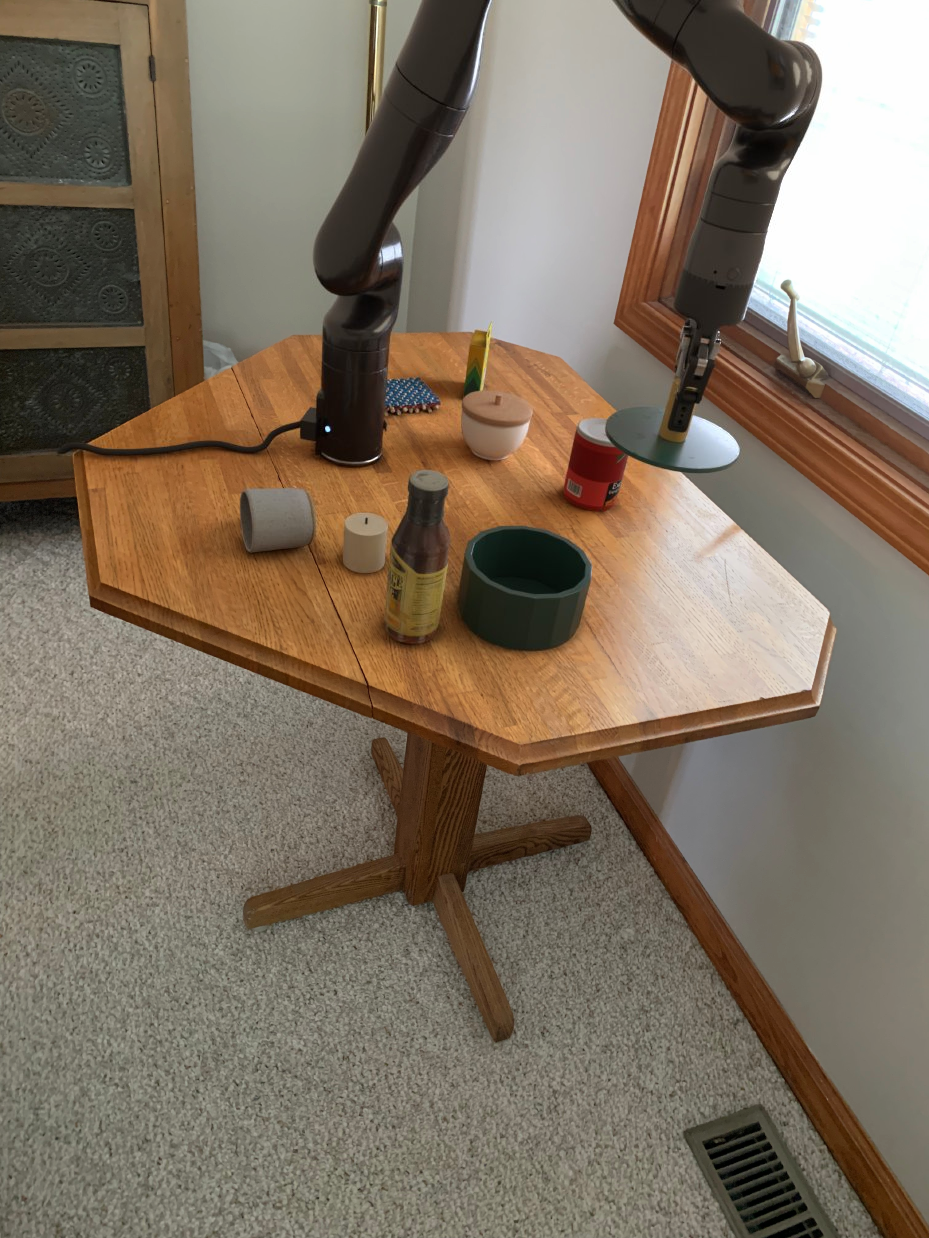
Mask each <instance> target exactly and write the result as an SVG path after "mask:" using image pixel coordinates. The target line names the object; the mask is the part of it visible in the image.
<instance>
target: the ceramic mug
mask: <svg viewBox="0 0 929 1238" xmlns="http://www.w3.org/2000/svg"><path fill="white" fill-rule="evenodd" d="M239 516H240V517H239V518H240V519H239V520H240V527H241V529H240V530H241V536H242V539H243V542H244V546H245V549H246V551H247V552H248V553H260V552H267V551H269V552H270V551H275V550H283V549H293V548H301V547H304V546H307V545H311V543H312V542H313V541H314V540H315V537H316V533H317V513H316V507H315V502H314V499H313V497H312V495H311V494H310V492H309V491H307V490H306V489H302V488H297V487H284V488H283V487H282V488H244V489H243V490H242V491H241V493H240V498H239Z"/></svg>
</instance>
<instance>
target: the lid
mask: <svg viewBox="0 0 929 1238" xmlns="http://www.w3.org/2000/svg"><path fill="white" fill-rule="evenodd" d="M678 382H679V378H678V377H677V378H675V379H674V380H673V379H672V384H671V388H670V391H669V395H668V398H667V401H666V404H665V405H666V406H665V408H664V407H657V406H656V407H655V406H635V407H628V408H624V409H620V410H617V411H615V412H613V413H612V414H611V415H610V416H608V418H606V419H607V421H606V425H605V433H606V436H607V437H608V439H609V441H610V442H611V443H612V444H613V445H614V446H615V447H616V448H618V449H619V450H620V451H622V452H623V453H625V454H627V455H628V457H630V458H632V459H634V460H636V461H639V462H641V463H644V464H647V465H649V466H652V467H655V468H659V469H661V470H666V471H671V472H677V473H683V474H684V473H686V474H712V473H718V472H721V471H724V470H727V469H729V468H732V466H734V465H735V464H736V463H737V461H738V458H739V456H740V446H739V444H738V442H737V441H736V439H735V438H734V437H733V436H732V435H731V433H729V432H728V431H727V430H725V429H724V428H722V427H720V426H719V425H717V424H715V423H714V422H711V421H709V420H707V419H705V418H702V417H700V416H698V415H695V410H696V408H697V404H696V403H695V405H694V408H693V412H692V415H691V418H690V422H689V425H688V428H687V431H686V432H684V433H681V432H675V431H670V430H669V429H668V421H669V417H670V413H671V410H672V406H673V403H674V399H675V396H674V394H675V391H676V390H677V386H678ZM686 389H687V390H692V391H695V388H693V387H687V388H686Z"/></svg>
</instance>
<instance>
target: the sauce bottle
mask: <svg viewBox="0 0 929 1238" xmlns="http://www.w3.org/2000/svg"><path fill="white" fill-rule="evenodd" d="M449 487H450V481H449V478H448V477H447V476H446V475H445V474H444V473H441V472H439V471H436V470H434V469H433V470H432V469H420V470H417V471H414V472H412V473H411V474H410V475H409V477H408V482H407V493H408V496H407V507H406V508H405V513H404V515H403V516H402V518H401V520H400V522H399V524H398V525H397V528H396V530H395V532H394V534H393V536H392V537H391V543H390V550H389V562H388V569H387V570H388V571H387V580H386V581H387V582H386V591H385V592H386V593H385V602H384V603H385V604H384V613H383V616H384V628H385V631H386V632H387V633H388V635H389V636H390V637H391V639H393V640H394V641H397V642H400V643H403V644H408V645H420V644H423V643H426V642H430V641H431V640H432V639H433V638H434V637H435V635H436V634H437V633H436V632H437V630H438V626H439V624H440V620H441V612H442V606H443V600H444V592H445V587H446V579H447V573H448V568H449V567H448V566H449V552H450V547H451V533H450V530H449V528H448V526H447V525H446V522H445V521H444V517H445V511H444V509H445V501H446V498H447V496H448V494H449Z"/></svg>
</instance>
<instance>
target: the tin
mask: <svg viewBox="0 0 929 1238" xmlns="http://www.w3.org/2000/svg"><path fill="white" fill-rule="evenodd" d="M592 575H593V564H592V562H591V560H590V559H589V558H588V555H587V553H586V552H585V551H584V550H583V549H582V548H580V547H579V546H578V545H577V544H575V543H574V542H573V541H571V540H570V539H569V538H567V537H565V536H563V535H560V534H557V533H555V532H554V531H550V530H548V529H545V528H538V527H534V526H528V525H497V526H494V527H491V528H487V529H484V530H481V531H479V532H478V533H477V534H475V536H473V537H472V538H470V539H468V542H467V545H466V548H465V552H464V554H463V561H462V568H461V574H460V581H459V586H458V587H459V588H458V594H457V600H456V605H457V611H458V614H459V618H460V619H461V620H462V622H463V624H464V625H465V626H466V627H467V628H468V629H469V630H470V631H471V632H472V633H474V634H475V635H477V636H478V637H479V638H480V639H483V640H484V641H486V642H489V643H491V644H492V645H496V646H498V647H502V648H505V649H510V650H515V651H522V652H523V651H524V652H539V651H540V652H541V651H546V650H552V649H554V648H557V647H560V646H561V645H564V644H565V643H567V642H568V641H569V640H571V639H572V638H573V637H574V636H575V634H576V632H577V630H578V629H579V628H580V624H581V620H582V617H583V612H584V609H585V606H586V601H587V598H588V595H589V594H588V593H589V590H590V586H591V582H592V577H593V576H592Z"/></svg>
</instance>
